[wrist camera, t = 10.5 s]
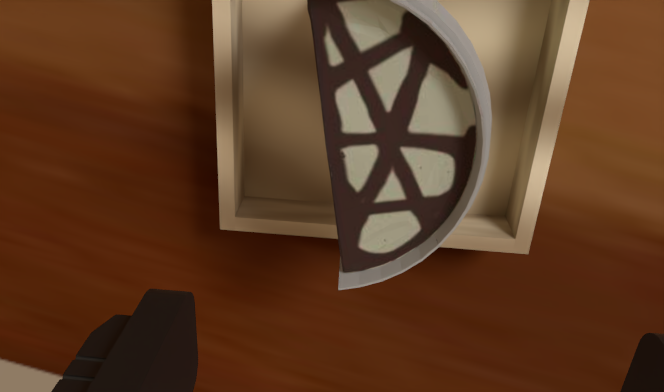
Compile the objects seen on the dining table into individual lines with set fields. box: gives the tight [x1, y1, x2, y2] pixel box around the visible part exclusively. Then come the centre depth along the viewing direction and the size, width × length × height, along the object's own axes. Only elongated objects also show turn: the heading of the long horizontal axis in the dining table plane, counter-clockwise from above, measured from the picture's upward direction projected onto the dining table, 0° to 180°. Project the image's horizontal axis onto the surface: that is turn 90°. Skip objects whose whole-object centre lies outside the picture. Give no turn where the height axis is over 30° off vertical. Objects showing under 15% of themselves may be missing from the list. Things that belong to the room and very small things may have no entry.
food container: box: [307, 0, 492, 290], centre depth 24 cm, size 12×6×10 cm, turn 7°
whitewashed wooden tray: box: [212, 0, 589, 254], centre depth 28 cm, size 16×16×4 cm
